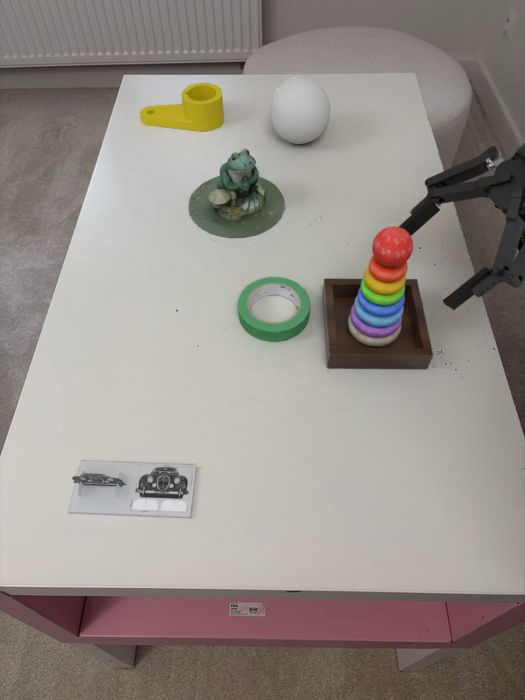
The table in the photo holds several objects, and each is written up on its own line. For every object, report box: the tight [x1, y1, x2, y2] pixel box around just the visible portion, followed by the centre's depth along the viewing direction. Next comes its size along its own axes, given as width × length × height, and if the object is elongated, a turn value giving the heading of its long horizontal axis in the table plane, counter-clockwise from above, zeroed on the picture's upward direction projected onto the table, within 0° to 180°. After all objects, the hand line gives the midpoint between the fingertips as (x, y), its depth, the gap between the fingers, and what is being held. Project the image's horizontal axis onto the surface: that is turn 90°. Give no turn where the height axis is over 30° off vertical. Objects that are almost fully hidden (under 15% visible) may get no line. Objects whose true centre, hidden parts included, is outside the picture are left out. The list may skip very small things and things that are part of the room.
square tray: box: [321, 278, 434, 370], centre depth 78 cm, size 14×14×4 cm
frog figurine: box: [188, 147, 286, 239], centre depth 92 cm, size 18×18×12 cm
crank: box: [139, 82, 225, 132], centre depth 110 cm, size 18×8×6 cm, turn 87°
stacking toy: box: [348, 225, 414, 347], centre depth 71 cm, size 8×8×19 cm
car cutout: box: [67, 460, 198, 519], centre depth 63 cm, size 15×7×4 cm, turn 88°
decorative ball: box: [269, 76, 331, 145], centre depth 103 cm, size 12×12×12 cm
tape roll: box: [237, 276, 311, 342], centre depth 80 cm, size 11×11×3 cm
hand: (421, 269), depth 71 cm, fingers open, 13 cm apart
